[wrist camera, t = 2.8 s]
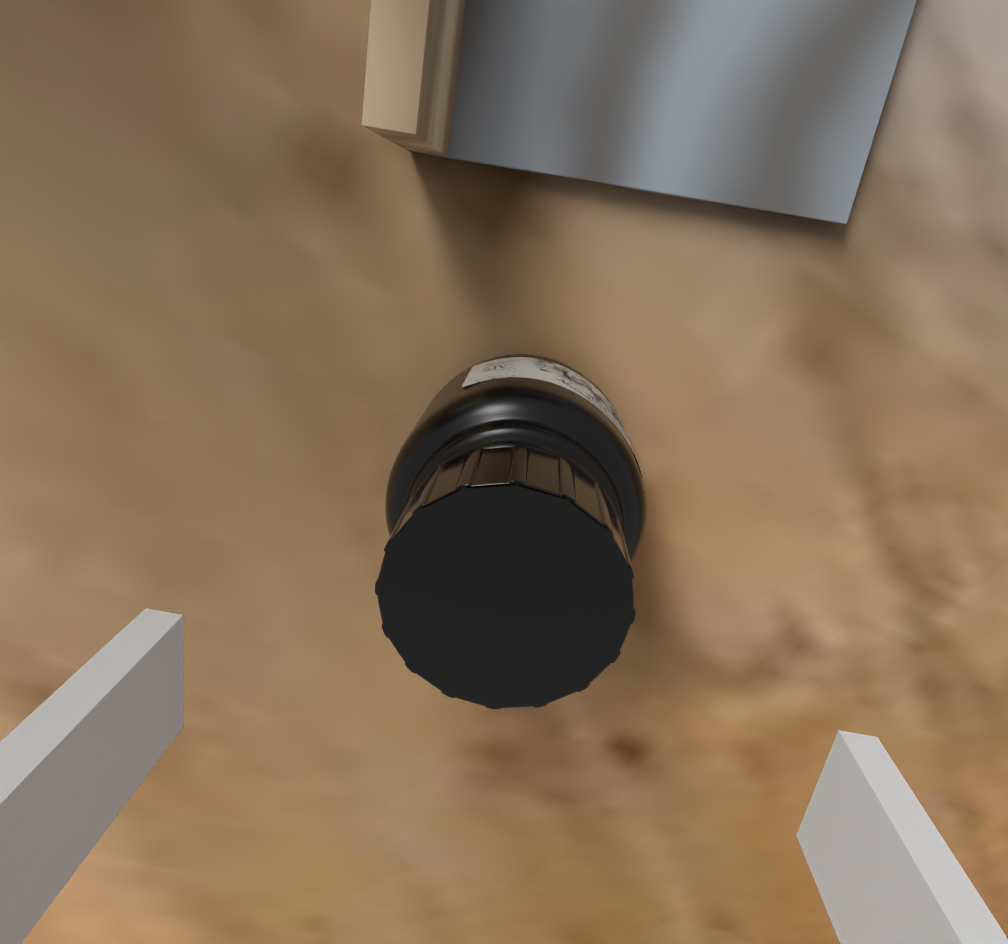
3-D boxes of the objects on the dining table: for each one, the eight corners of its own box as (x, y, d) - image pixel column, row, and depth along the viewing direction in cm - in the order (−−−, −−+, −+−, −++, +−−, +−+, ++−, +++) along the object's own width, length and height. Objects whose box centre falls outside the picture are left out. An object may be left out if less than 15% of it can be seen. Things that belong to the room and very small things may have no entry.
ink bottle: (676, 465, 29) (760, 620, 17) (528, 592, 31) (516, 799, 20) (513, 297, 27) (488, 350, 15) (368, 447, 29) (256, 586, 18)
